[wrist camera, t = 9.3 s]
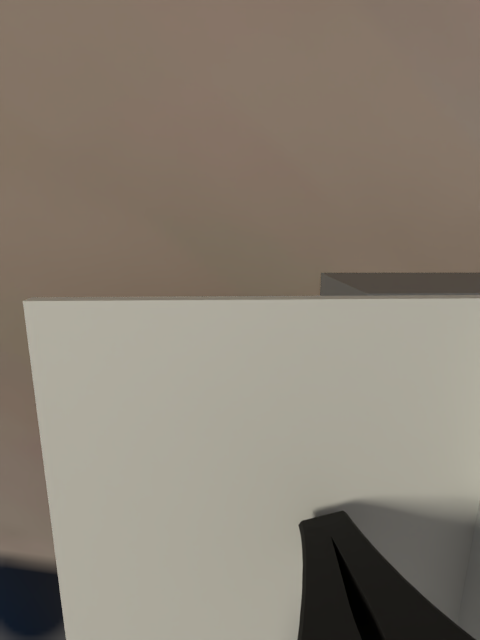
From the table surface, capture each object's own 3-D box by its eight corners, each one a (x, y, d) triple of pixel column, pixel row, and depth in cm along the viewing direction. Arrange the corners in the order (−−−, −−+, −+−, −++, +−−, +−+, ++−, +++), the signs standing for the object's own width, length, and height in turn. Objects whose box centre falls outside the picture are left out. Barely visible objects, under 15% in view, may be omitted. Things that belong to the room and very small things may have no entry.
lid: (542, 294, 11) (620, 311, 9) (469, 668, 14) (513, 745, 12) (31, 297, 10) (-17, 317, 8) (80, 697, 13) (56, 786, 11)
